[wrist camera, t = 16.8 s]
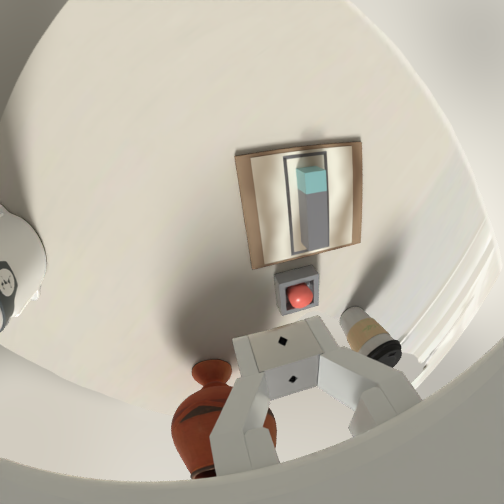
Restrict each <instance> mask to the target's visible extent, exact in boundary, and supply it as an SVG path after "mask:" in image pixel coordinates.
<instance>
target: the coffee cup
mask: <svg viewBox="0 0 504 504" xmlns="http://www.w3.org/2000/svg"><path fill="white" fill-rule="evenodd" d="M340 325H341V327H342V329H343V331H344V333H345V335H346V337H347V341H348V343H349V345H350V347H351V349H352V350H353V351H355V352H358V353H360V354H362V355H364V356H367V357H369V358H371V359H373V360H376V361H378V362H380V363H383V364H385V365H387V366H390V367H392V368H393V367H394V366H395V365H396V364H397V363H398V361H399V360H400V358H401V355H402V352H401V345H400V343H399V341H398V340H394V339H393V338H392V337H391V336H390V334H389V333H388V332H387V331H386V330H385V329H384V328H383V327H382V326H381V325H379V324H378V323H377V322H376V321H375V320H374V319H373V318H371V317H370V316H369V315H368V314H367V313H366V312H365V311H364V310H363V309H362V308H360V307H351V308H349V309H347V310H346V311H345V312H344V313H343V314H342V316H341V318H340Z"/></svg>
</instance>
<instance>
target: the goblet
mask: <svg viewBox="0 0 504 504" xmlns="http://www.w3.org/2000/svg"><path fill="white" fill-rule="evenodd" d="M231 373H232V370H231V366H230V364H229V363H227V362H225V361H222V360H214V359H211V360H207V361H202V362H200V363H198V364H196V365H195V366H194V367H193V369H192V376H193V378H194V379H195V380H196V381H197V382H198V383H200V384H201V385H203V388H202V389H201V390H200V391H197V392H196V393H194V394H192V395H191V396H189V397H188V398H187V399H185V400H184V401H183V402H182V403H181V404H180V406H179V407H178V408H177V410H176V412H175V414H174V417H173V420H172V425H171V432H172V438H173V441H174V444H175V446H176V449H177V451H178V452H179V454H180V456H181V458H182V460H183V461H184V463H185V465H186V467H187V469H188V470H189V472H190V473H191V479H201V478H210V477H217V476H216V471H215V465H214V460H213V455H212V449H211V443H210V437H209V436H210V434H211V432H212V430H213V428H214V426H215V424H216V422H217V420H218V418H219V416H220V414H221V412H222V409H223V407H224V405H225V403H226V401H227V399H228V397H229V395H230V392H231V390H232V388H233V387H231V386H228V385H227V384H225V383H226V382H227V381H228V380H229V378H230V376H231ZM263 427H264V428H267V429H269V432H270V435H271V438H272V441H273V444H274V447H276V435H277V429H276V422H275V418H274V415H273V413H272V411H271V410H270V408H268V411H267V414H266V418H265V421H264V424H263Z"/></svg>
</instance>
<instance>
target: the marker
mask: <svg viewBox="0 0 504 504" xmlns="http://www.w3.org/2000/svg"><path fill="white" fill-rule="evenodd" d="M296 176H297V188H298V201H299V215H300V231H301V243H302V244H303V245H304V246H305V247H306V248H307V250H308V251H312V250H316V249H321V248H325V247H328V214H327V183H326V170H324V169H322V168H320V167H317V166H311V167H304V168H297V169H296Z"/></svg>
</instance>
